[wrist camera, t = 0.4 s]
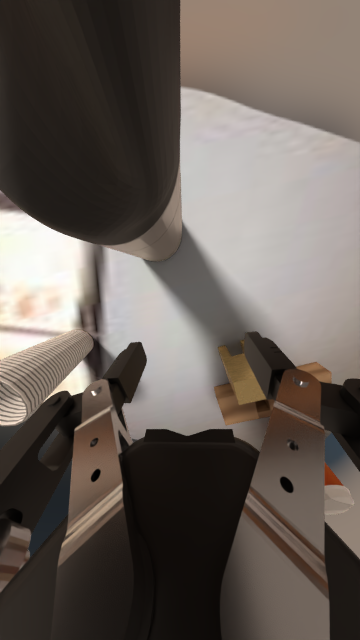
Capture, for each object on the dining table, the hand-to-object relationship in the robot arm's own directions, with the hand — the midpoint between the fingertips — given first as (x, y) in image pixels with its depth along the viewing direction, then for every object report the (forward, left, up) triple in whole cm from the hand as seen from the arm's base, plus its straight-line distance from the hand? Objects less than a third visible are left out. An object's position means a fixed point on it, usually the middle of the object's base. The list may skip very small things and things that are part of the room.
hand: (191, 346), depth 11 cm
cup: (+1, -25, -18) cm, 31 cm away
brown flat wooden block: (+28, +12, -18) cm, 35 cm away
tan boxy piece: (+14, +7, -18) cm, 24 cm away
